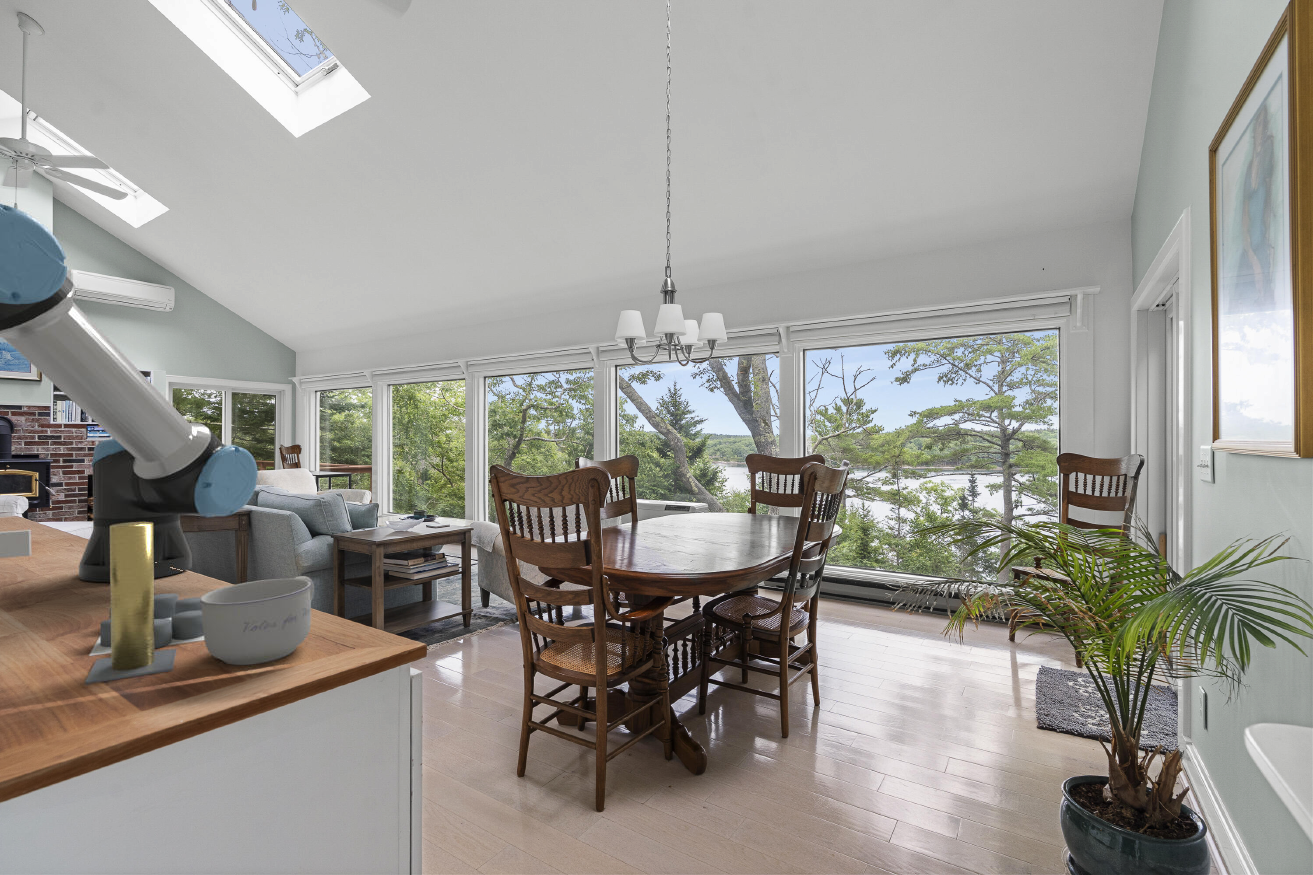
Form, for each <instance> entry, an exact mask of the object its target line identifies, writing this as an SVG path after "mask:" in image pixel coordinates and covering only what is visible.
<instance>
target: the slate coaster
mask: <svg viewBox="0 0 1313 875" xmlns="http://www.w3.org/2000/svg"><path fill="white" fill-rule="evenodd" d="M177 649H178V648H169V649H164V650H156V651H155V650H154V662H153V663H151V664H149V665H147V666H144V667H141V668H136V669H131V670H113V669H112V668H111V657H105V658H98V659H96V660H95V662H94V664H93V666H92V668H91V669H90V672H89V673H88V676H87V677H86V679H85V680H84V685H89V684H96V683H102V682H108V681H116V680H123V679H129V678H135V677H141V676H142V677H143V676H149V675H153V674H160V673H166V672H167V673H168V672H172V671H173V668H174V665H175V660H176V654H177Z"/></svg>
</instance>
